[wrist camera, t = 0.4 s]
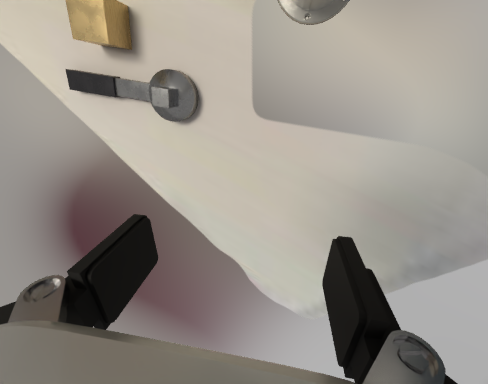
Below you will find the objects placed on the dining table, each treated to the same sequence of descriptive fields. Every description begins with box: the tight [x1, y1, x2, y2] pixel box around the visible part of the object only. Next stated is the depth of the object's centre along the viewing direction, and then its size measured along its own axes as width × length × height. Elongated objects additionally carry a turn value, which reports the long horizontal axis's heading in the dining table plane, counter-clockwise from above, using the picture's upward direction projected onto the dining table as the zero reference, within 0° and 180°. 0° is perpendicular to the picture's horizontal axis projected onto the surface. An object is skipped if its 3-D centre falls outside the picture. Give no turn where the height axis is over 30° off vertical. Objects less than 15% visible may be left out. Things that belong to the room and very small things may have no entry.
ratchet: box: [66, 69, 198, 121], centre depth 40 cm, size 9×26×6 cm, turn 82°
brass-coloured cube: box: [66, 0, 132, 50], centre depth 36 cm, size 6×6×6 cm
